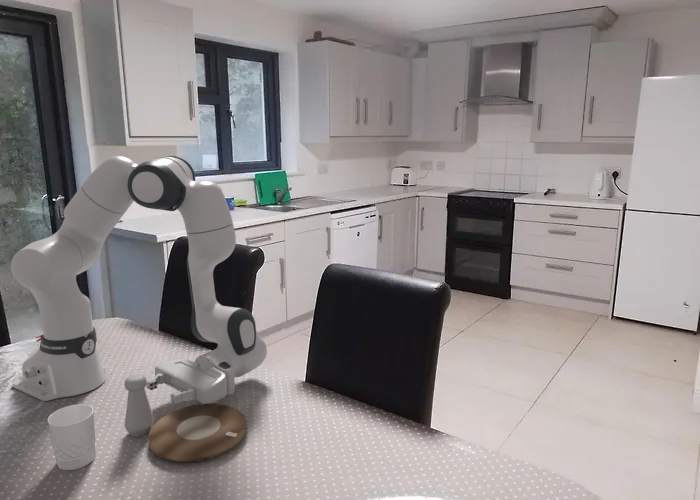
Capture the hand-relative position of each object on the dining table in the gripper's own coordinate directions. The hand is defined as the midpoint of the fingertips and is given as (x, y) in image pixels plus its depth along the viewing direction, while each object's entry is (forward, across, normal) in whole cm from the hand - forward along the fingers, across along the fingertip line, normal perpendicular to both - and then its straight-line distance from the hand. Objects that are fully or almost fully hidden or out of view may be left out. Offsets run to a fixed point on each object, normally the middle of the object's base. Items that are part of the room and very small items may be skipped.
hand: (160, 392), depth 112 cm
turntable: (-1, +12, +7) cm, 14 cm away
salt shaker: (+6, 0, +7) cm, 9 cm away
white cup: (+18, -1, +7) cm, 20 cm away
